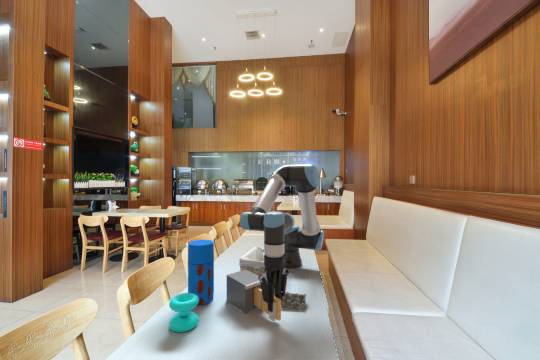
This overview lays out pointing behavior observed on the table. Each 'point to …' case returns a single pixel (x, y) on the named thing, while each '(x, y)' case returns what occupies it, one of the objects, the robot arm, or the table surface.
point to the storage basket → (253, 261)
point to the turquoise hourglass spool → (184, 312)
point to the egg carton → (296, 298)
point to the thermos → (201, 270)
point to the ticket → (264, 305)
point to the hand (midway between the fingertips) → (274, 318)
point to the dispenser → (242, 290)
